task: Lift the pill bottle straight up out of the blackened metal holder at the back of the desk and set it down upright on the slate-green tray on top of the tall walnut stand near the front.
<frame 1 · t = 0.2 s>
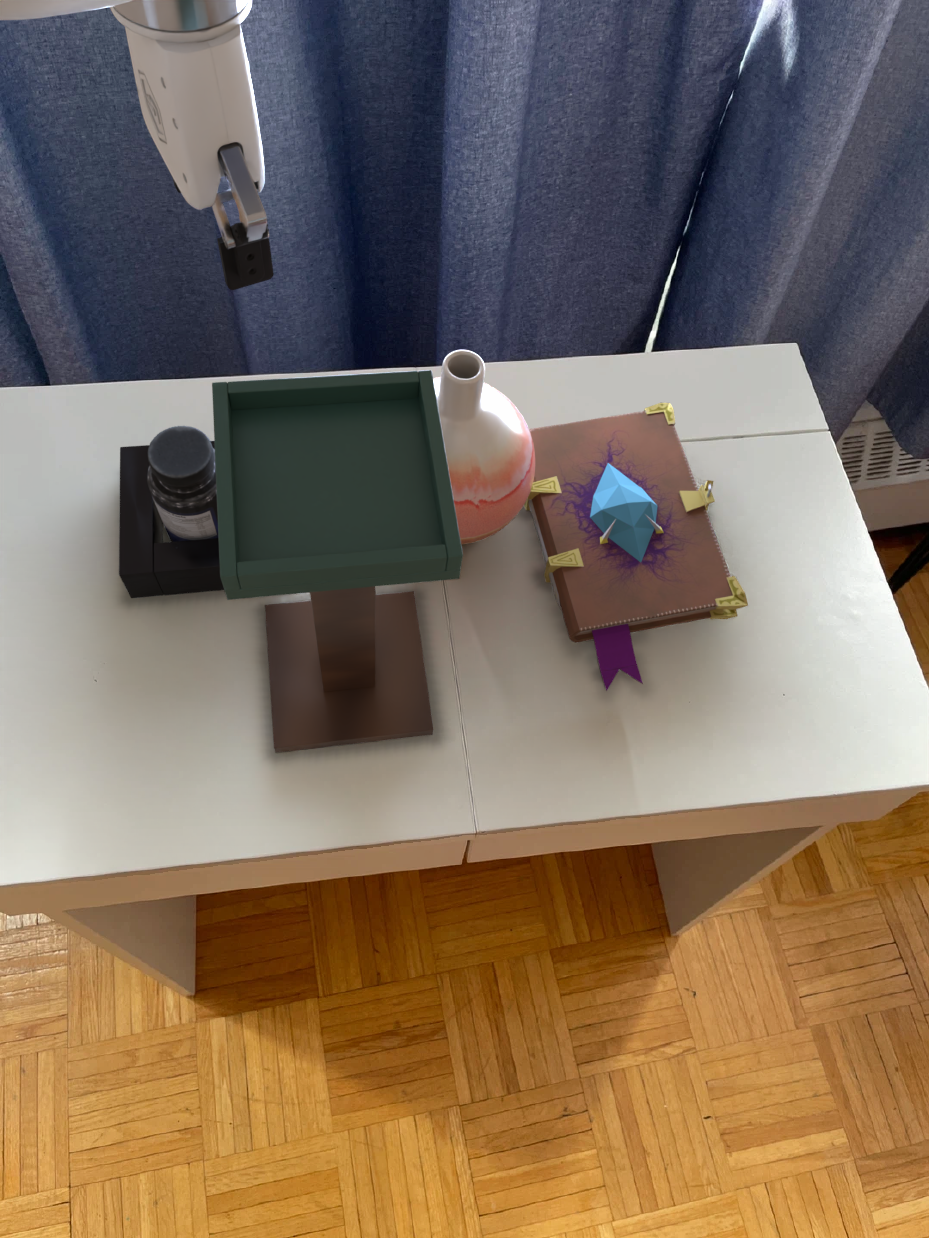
hand: (223, 233, 64), 21 cm above the table, tool pointing down, fingers open, 9 cm apart
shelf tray: (335, 492, 51), resting on stand
holder: (205, 528, 78), on the table
pill bottle: (205, 530, 79), resting in holder
stand: (347, 671, 74), on the table
book: (629, 551, 81), on the table
vase: (446, 503, 82), on the table
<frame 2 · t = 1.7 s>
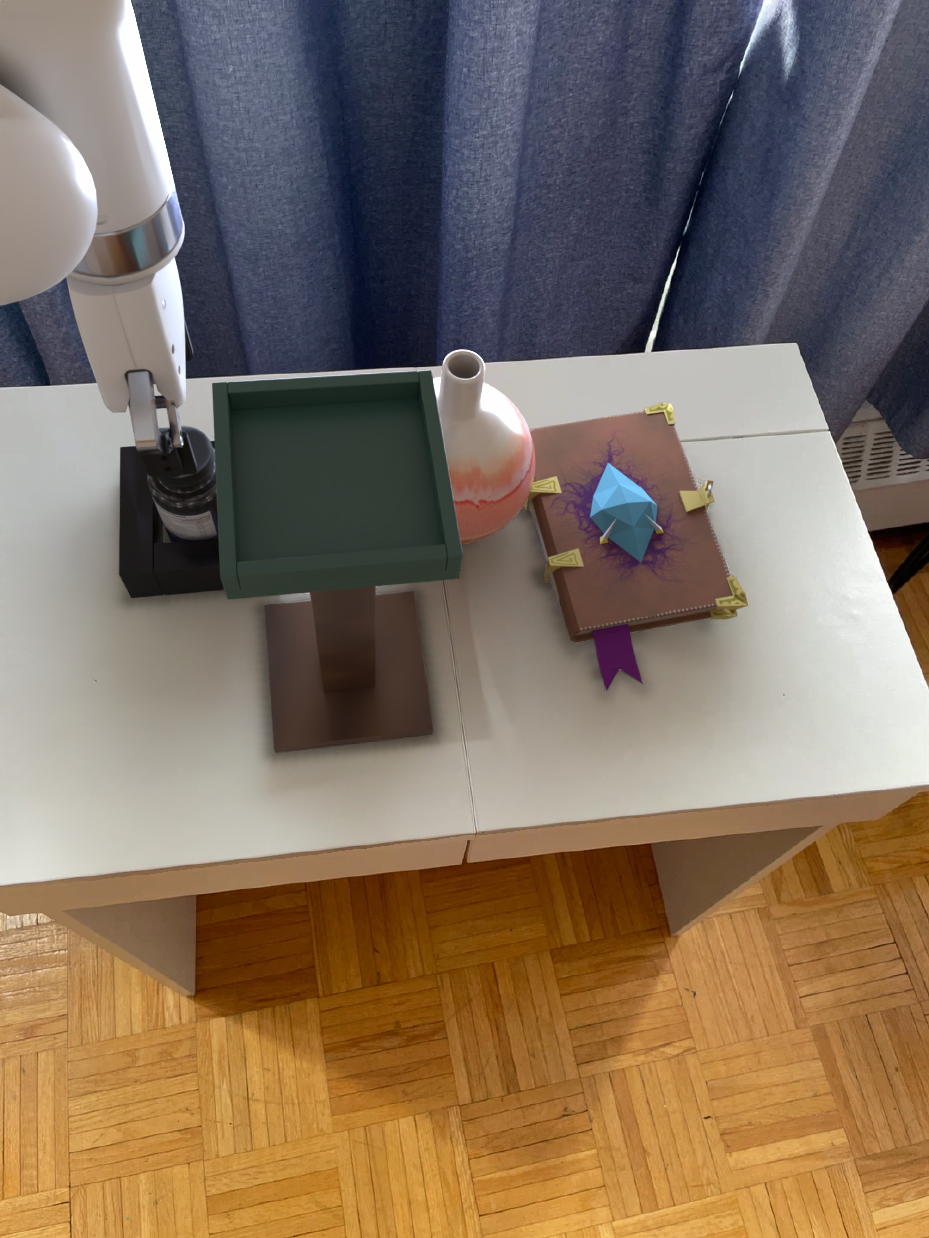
hand: (172, 413, 65), 15 cm above the table, tool pointing down, fingers open, 9 cm apart
nothing on the table moved.
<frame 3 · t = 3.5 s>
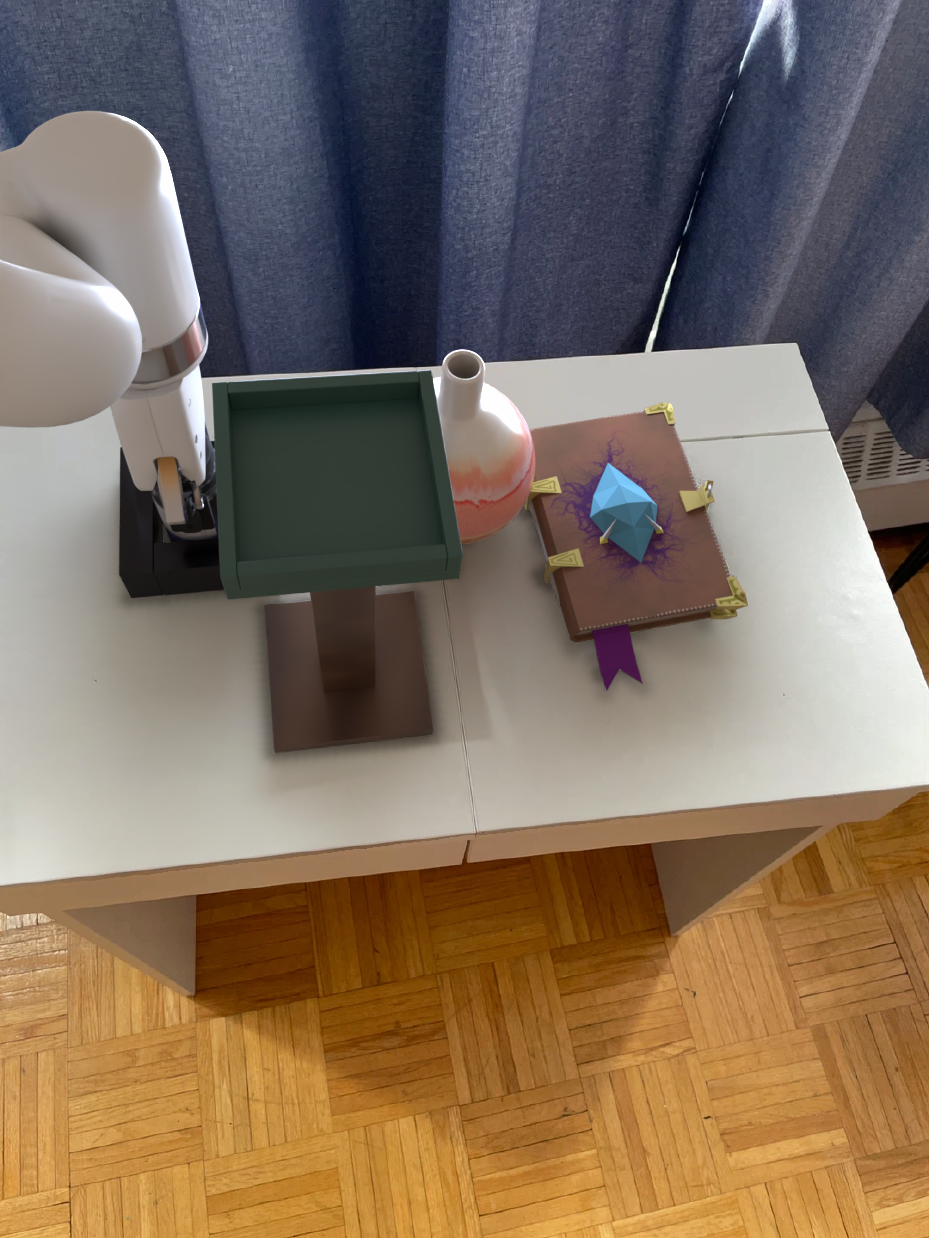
hand: (192, 488, 73), 6 cm above the table, tool pointing down, fingers closed on pill bottle, 6 cm apart
pill bottle: (205, 530, 79), resting in holder, touching gripper
everything else where it was.
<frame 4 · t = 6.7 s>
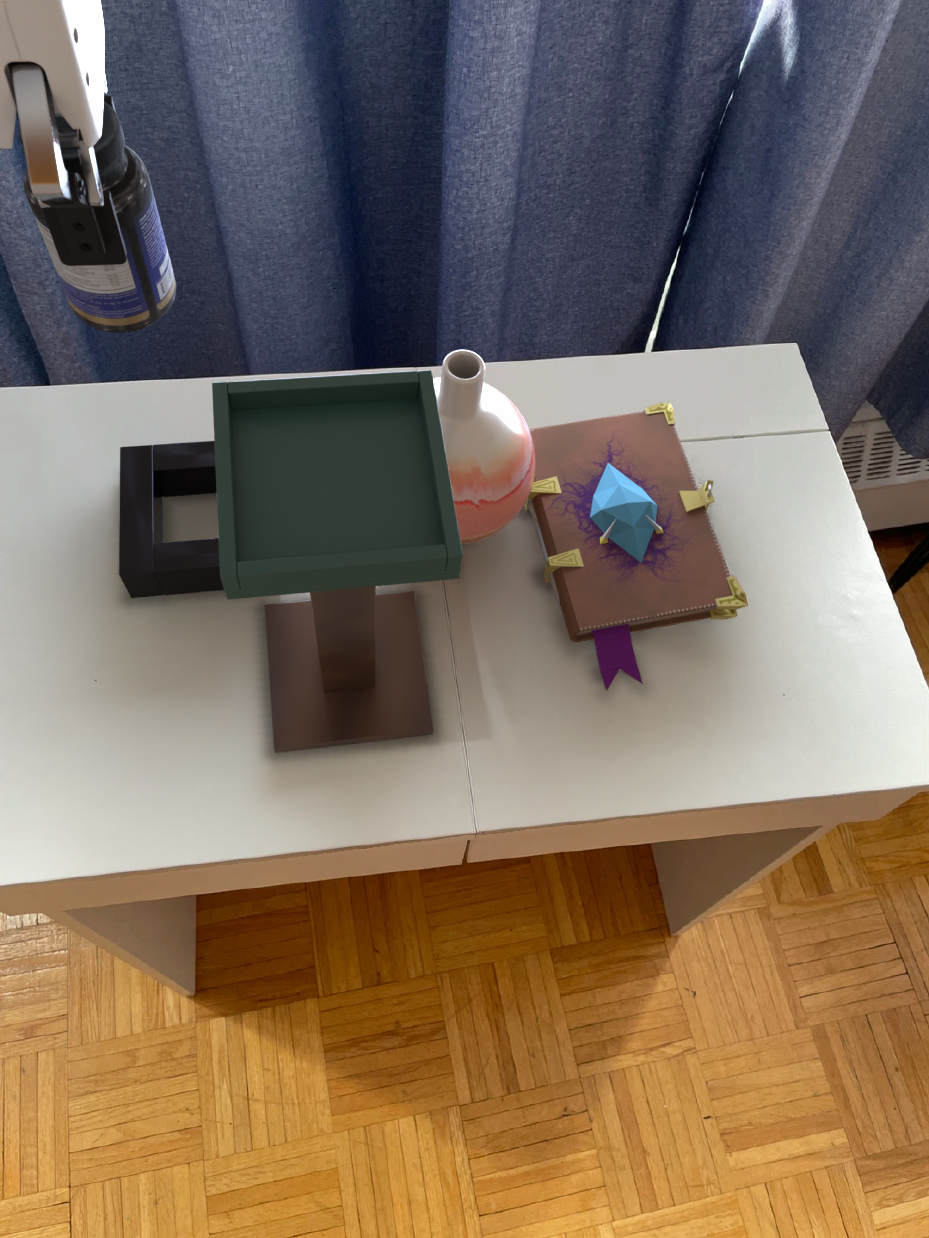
hand: (96, 211, 49), 33 cm above the table, tool pointing down, fingers closed on pill bottle, 6 cm apart
pill bottle: (125, 300, 54), point 26 cm above the table, touching gripper
everything else where it was.
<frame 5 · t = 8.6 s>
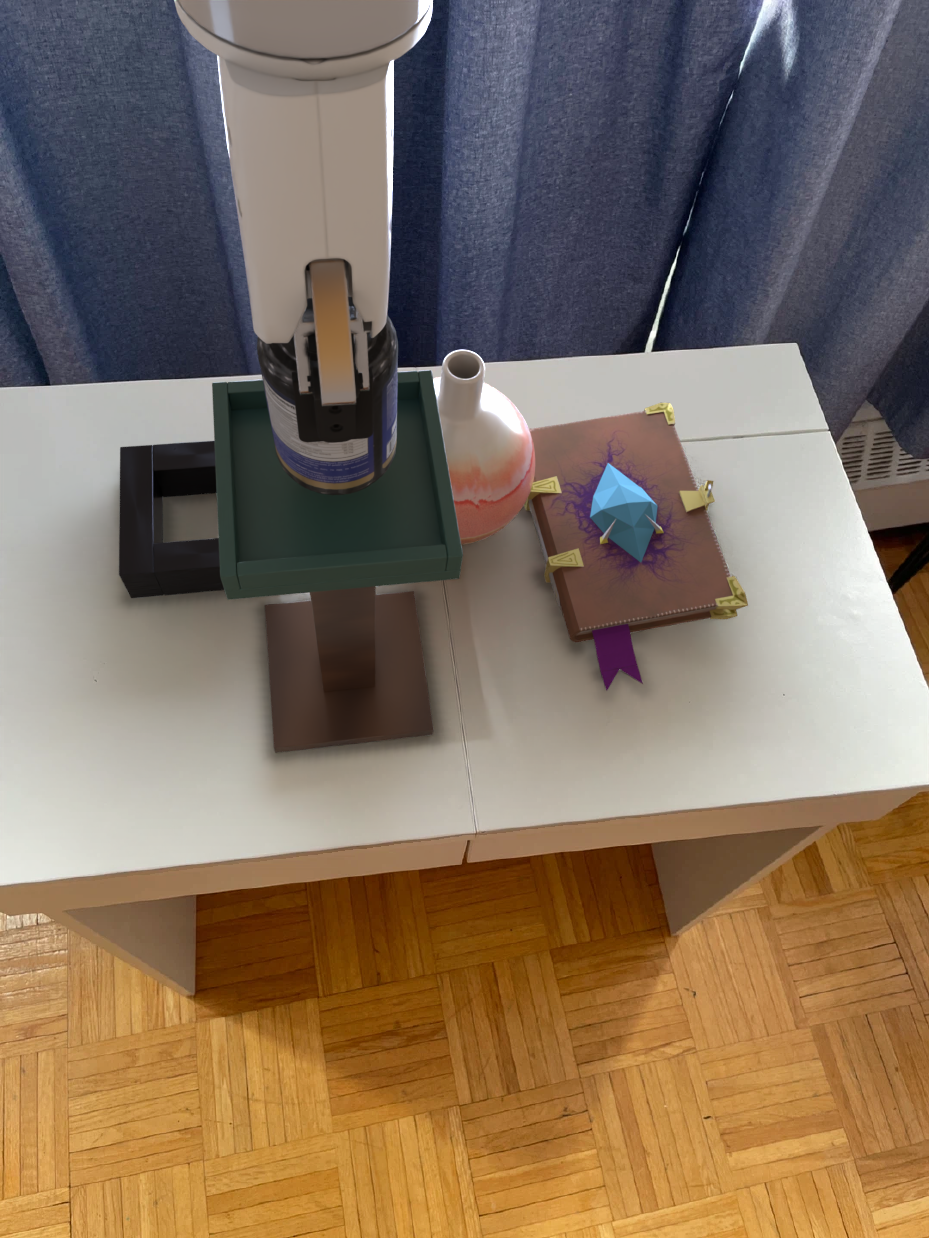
hand: (329, 371, 42), 35 cm above the table, tool pointing down, fingers closed on pill bottle, 6 cm apart
pill bottle: (336, 452, 48), point 29 cm above the table, touching gripper
everything else where it was.
when the fingers open (33 cm above the table, at t = 9.9 s): pill bottle stays where it is, resting on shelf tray.
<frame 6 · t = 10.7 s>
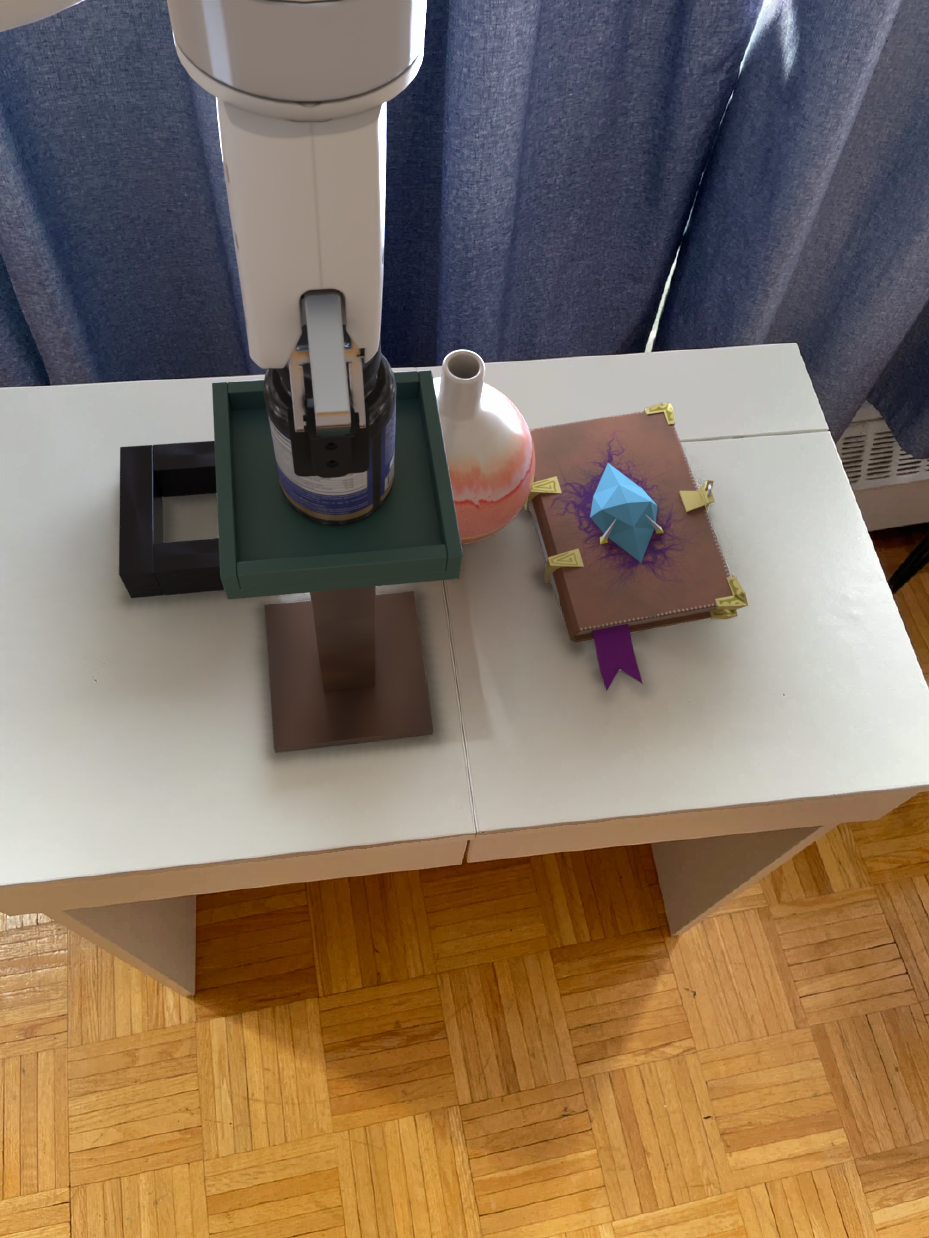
hand: (322, 381, 43), 35 cm above the table, tool pointing down, fingers open, 9 cm apart
pill bottle: (337, 483, 50), point 26 cm above the table, touching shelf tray
everything else where it was.
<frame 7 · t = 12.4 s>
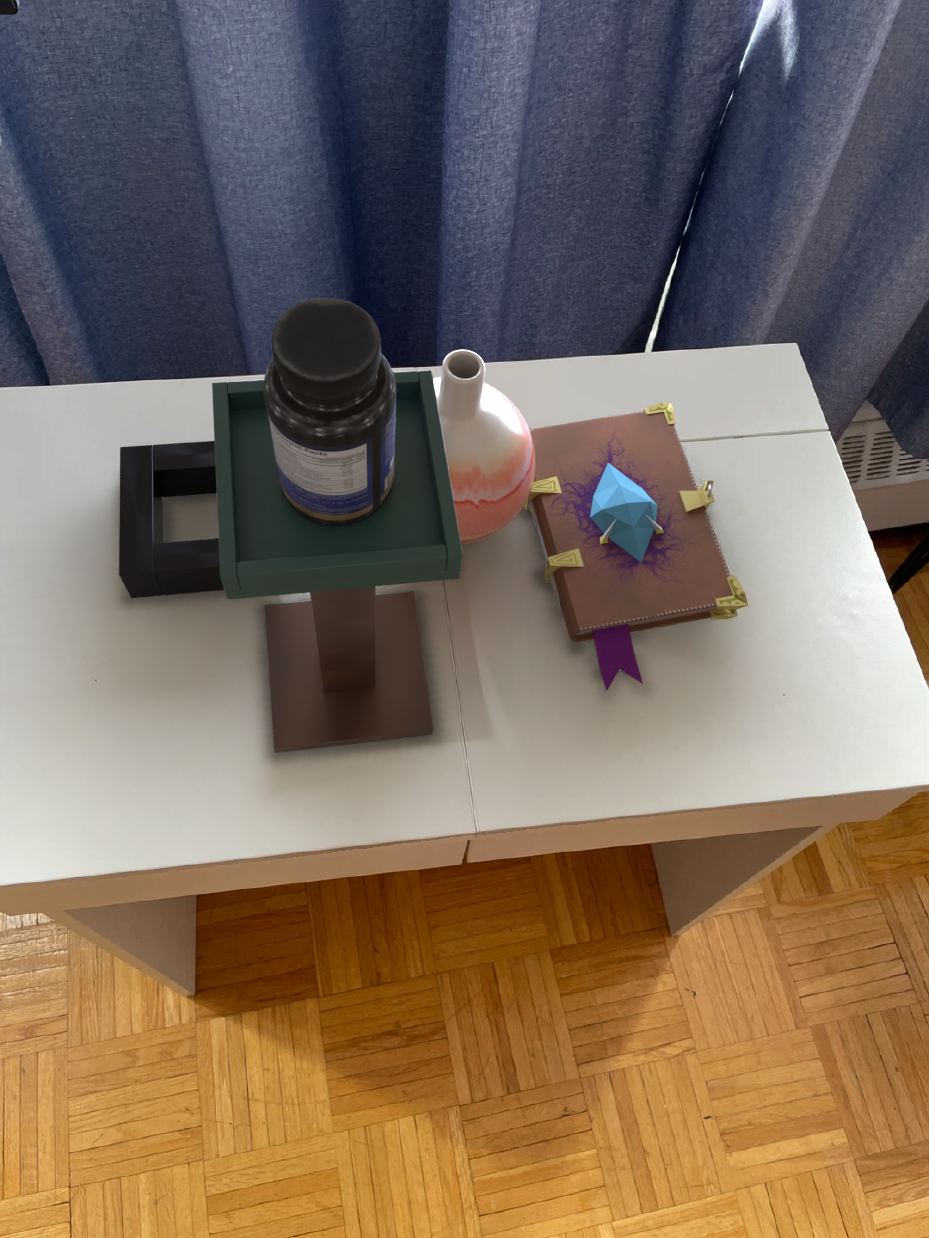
nothing on the table moved.
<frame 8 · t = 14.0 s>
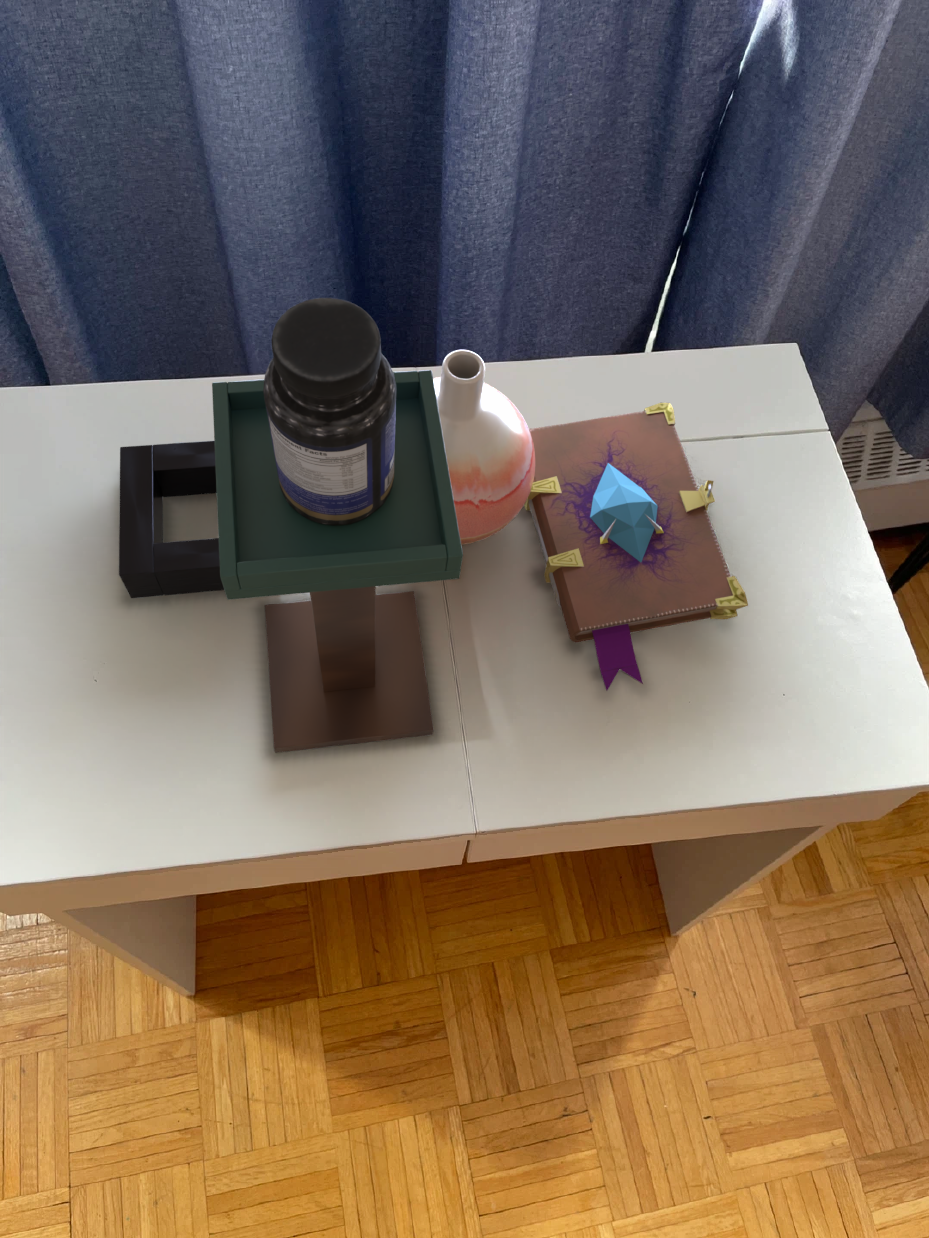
nothing on the table moved.
at the end: pill bottle inside the target area on the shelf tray (0.1 cm from its centre), point 0.8 cm above the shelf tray's base; pill bottle tilted 0°; pill bottle moved 31.8 cm from its start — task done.
